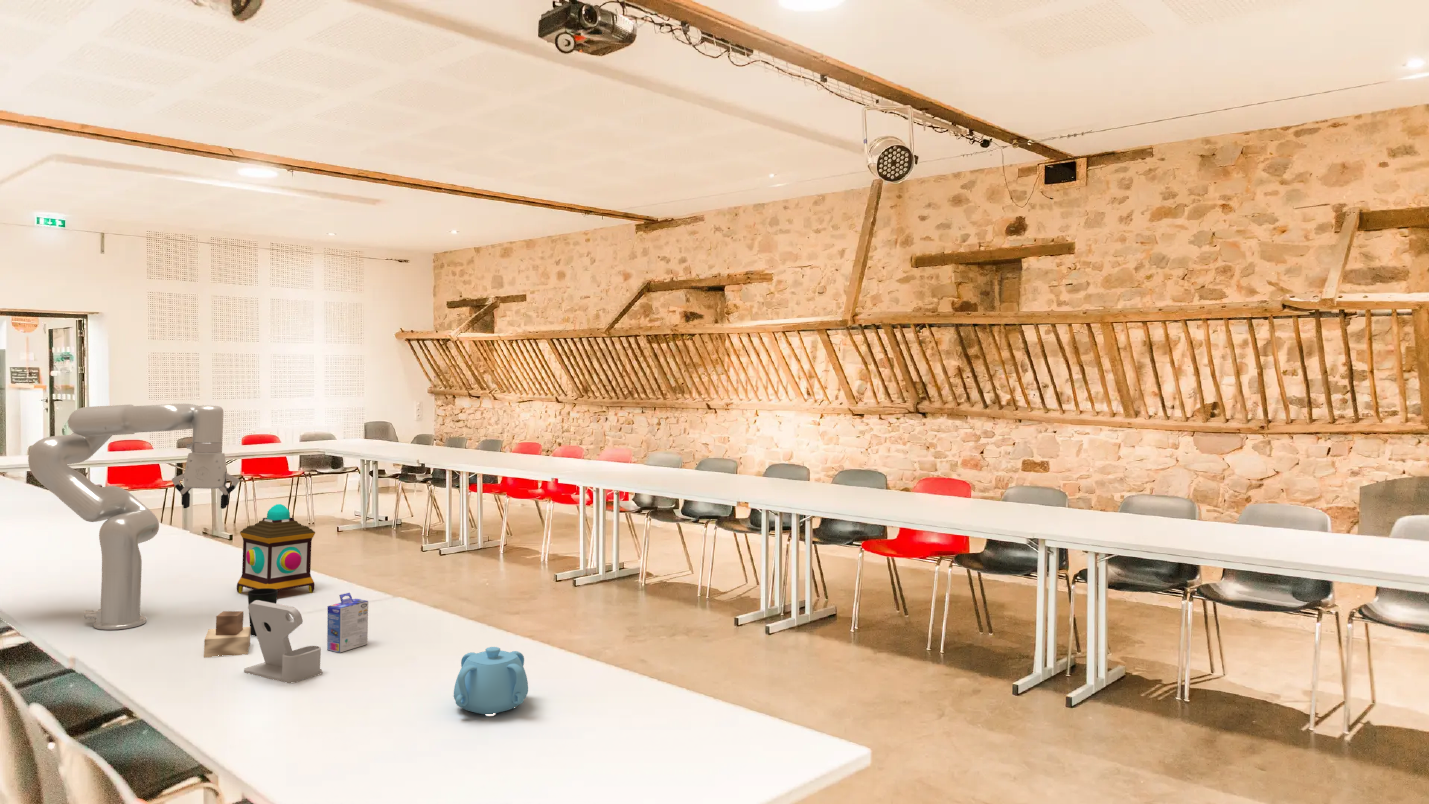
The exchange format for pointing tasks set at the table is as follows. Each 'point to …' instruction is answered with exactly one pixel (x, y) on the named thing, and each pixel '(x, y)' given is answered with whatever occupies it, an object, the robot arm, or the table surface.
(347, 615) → the ink cartridge box
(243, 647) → the oak block
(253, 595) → the cup
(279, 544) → the decorative lantern
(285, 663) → the phone holder
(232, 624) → the walnut cube
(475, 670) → the decorative pot
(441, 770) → the table surface
